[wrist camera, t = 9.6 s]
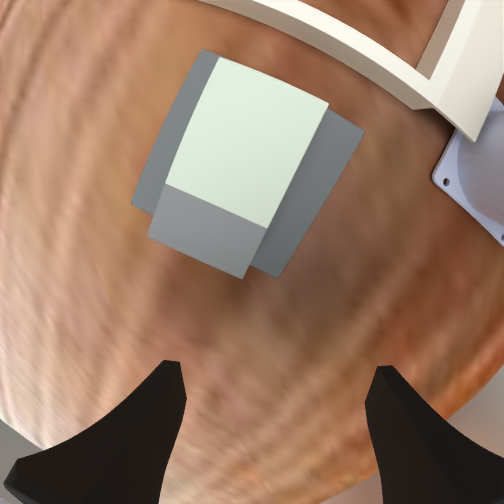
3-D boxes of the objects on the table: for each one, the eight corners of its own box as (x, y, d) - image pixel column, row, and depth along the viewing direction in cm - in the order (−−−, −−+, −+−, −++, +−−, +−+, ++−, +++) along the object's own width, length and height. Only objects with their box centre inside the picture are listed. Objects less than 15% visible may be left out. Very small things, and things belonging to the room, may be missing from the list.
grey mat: (362, 131, 16) (365, 131, 15) (277, 275, 19) (277, 278, 19) (203, 51, 14) (202, 48, 14) (133, 201, 18) (130, 203, 18)
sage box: (312, 112, 15) (329, 103, 10) (250, 240, 18) (242, 279, 13) (235, 78, 15) (219, 56, 10) (179, 208, 17) (146, 236, 13)
